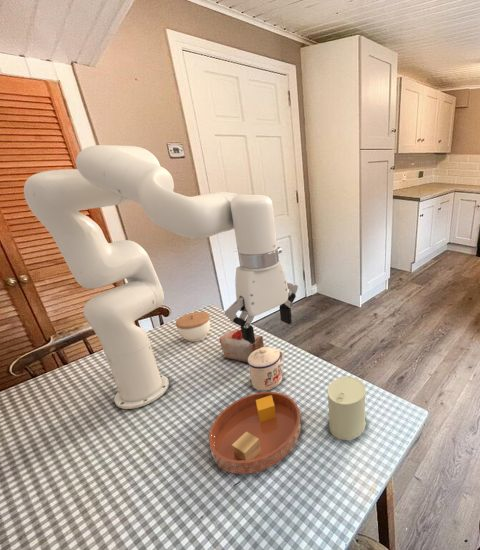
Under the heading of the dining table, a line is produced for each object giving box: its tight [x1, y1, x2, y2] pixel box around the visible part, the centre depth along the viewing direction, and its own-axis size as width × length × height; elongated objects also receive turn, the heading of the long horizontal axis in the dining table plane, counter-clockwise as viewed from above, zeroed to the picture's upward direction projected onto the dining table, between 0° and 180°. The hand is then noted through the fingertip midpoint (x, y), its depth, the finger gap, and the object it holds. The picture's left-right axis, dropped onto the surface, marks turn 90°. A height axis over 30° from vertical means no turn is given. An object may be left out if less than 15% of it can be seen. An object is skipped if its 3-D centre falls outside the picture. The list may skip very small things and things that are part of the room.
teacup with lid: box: [246, 346, 284, 391], centre depth 90 cm, size 12×9×12 cm
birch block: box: [232, 432, 261, 460], centre depth 67 cm, size 4×4×4 cm
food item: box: [218, 328, 265, 363], centre depth 100 cm, size 14×8×10 cm, turn 73°
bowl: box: [208, 391, 302, 475], centre depth 72 cm, size 20×20×4 cm
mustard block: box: [256, 395, 276, 423], centre depth 78 cm, size 4×4×4 cm
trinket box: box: [175, 311, 211, 342], centre depth 111 cm, size 11×11×9 cm
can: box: [326, 376, 367, 441], centre depth 74 cm, size 9×9×12 cm
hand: (269, 331), depth 67 cm, fingers open, 9 cm apart
